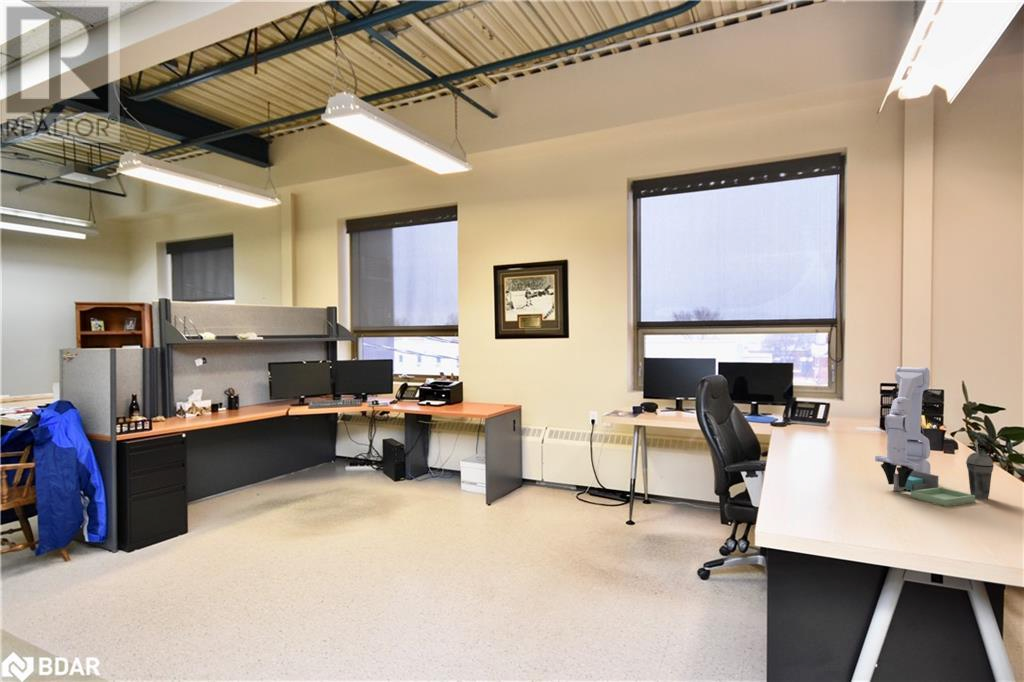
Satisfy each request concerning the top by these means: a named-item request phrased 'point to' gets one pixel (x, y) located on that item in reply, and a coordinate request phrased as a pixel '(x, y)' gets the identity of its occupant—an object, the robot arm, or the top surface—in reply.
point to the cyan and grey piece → (909, 483)
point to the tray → (943, 496)
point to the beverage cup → (979, 473)
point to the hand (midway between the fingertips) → (896, 485)
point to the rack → (925, 480)
